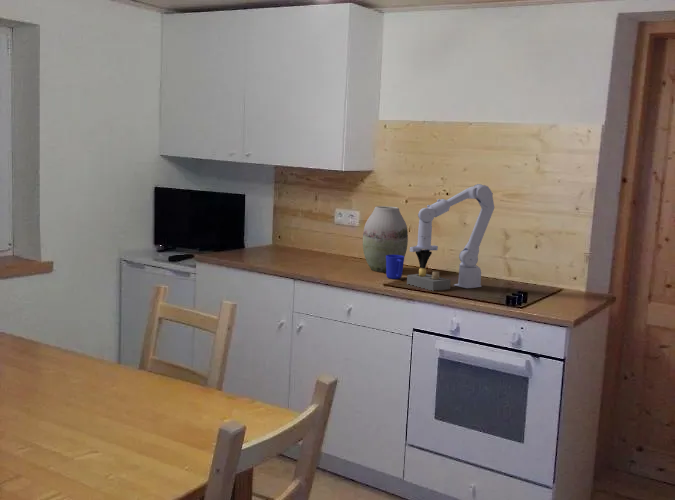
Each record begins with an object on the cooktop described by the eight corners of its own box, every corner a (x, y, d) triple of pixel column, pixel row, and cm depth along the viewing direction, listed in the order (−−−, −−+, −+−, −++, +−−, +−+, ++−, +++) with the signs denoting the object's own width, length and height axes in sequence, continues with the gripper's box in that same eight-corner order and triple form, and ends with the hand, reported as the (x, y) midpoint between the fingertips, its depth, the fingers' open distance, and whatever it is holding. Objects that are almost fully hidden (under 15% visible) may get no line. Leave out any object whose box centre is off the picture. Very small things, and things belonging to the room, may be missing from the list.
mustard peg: (422, 277, 314) (422, 268, 313) (427, 278, 312) (427, 269, 311) (417, 277, 312) (417, 268, 312) (421, 278, 310) (422, 269, 309)
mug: (391, 281, 318) (392, 258, 316) (382, 276, 329) (383, 254, 328) (408, 281, 320) (410, 258, 318) (399, 276, 331) (400, 254, 330)
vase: (395, 266, 360) (398, 205, 355) (413, 273, 340) (417, 209, 335) (354, 266, 353) (357, 204, 348) (370, 274, 333) (374, 209, 329)
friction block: (423, 282, 318) (424, 273, 318) (450, 289, 306) (450, 279, 305) (406, 284, 312) (407, 275, 312) (432, 291, 300) (433, 281, 299)
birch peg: (435, 280, 308) (435, 271, 307) (440, 281, 305) (440, 272, 305) (430, 280, 306) (430, 271, 305) (435, 282, 303) (435, 272, 303)
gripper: (430, 234, 317) (428, 265, 319) (405, 235, 308) (403, 267, 310) (441, 236, 311) (439, 267, 313) (416, 237, 303) (415, 269, 305)
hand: (422, 267), depth 311 cm, fingers closed
